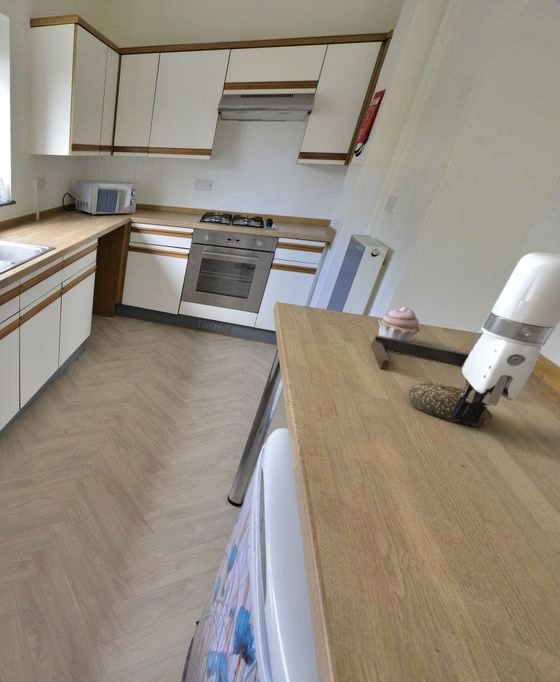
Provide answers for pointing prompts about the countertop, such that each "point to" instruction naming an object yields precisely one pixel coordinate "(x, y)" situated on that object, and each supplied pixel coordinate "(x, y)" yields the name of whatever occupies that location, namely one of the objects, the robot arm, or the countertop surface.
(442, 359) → the frame
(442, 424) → the countertop surface
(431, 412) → the bread roll
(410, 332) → the cupcake
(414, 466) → the countertop surface
